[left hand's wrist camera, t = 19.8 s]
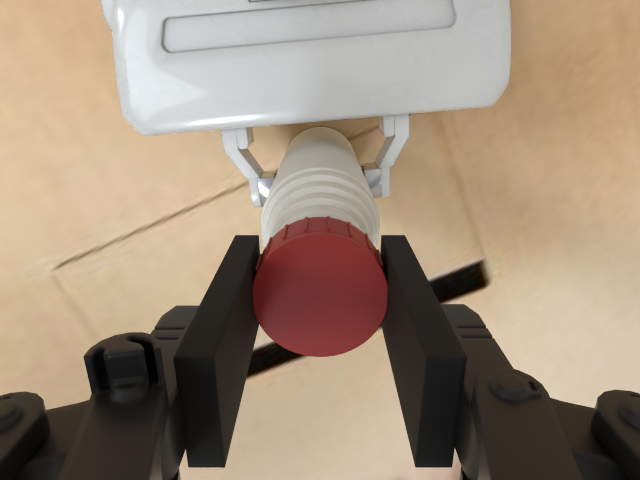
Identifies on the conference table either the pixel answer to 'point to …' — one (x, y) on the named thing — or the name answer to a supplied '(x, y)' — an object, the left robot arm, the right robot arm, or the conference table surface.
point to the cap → (320, 287)
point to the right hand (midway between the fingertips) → (322, 199)
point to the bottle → (320, 185)
